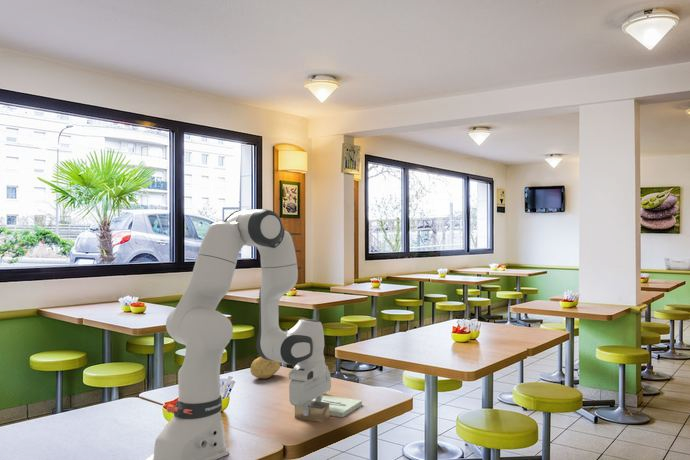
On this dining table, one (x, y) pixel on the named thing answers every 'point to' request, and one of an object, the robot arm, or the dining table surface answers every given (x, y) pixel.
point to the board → (340, 405)
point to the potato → (264, 368)
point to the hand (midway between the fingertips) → (312, 412)
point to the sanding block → (314, 411)
